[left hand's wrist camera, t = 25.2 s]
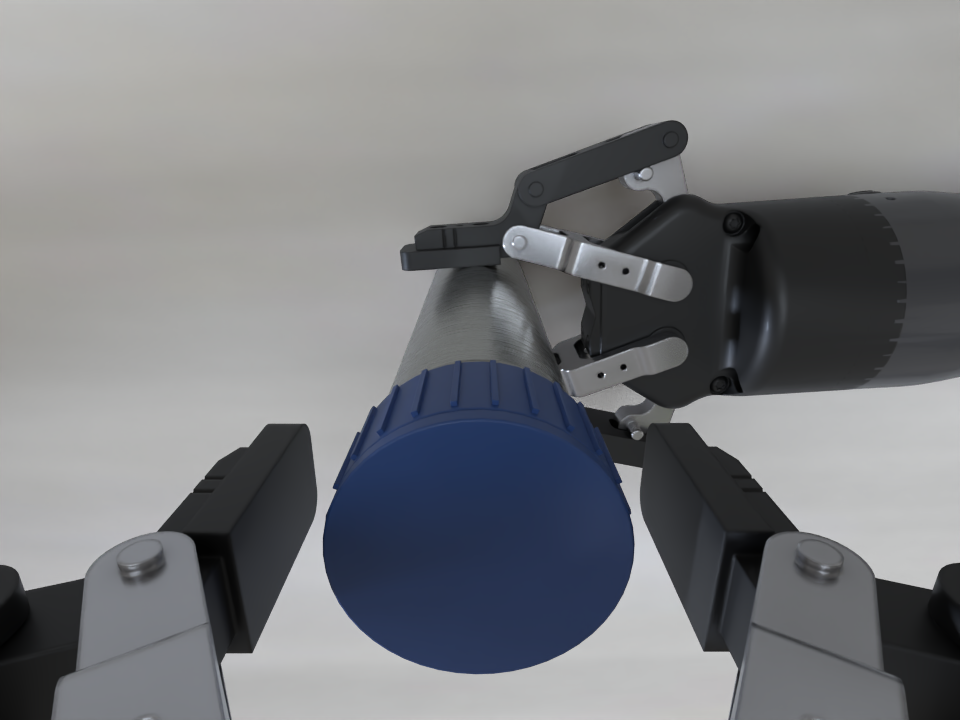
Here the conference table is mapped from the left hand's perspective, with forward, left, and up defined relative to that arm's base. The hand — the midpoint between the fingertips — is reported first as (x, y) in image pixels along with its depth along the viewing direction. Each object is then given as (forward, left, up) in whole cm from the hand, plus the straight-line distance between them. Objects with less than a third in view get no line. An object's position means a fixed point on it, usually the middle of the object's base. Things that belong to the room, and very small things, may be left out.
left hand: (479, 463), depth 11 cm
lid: (0, 0, +3) cm, 3 cm away
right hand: (-1, +2, -11) cm, 12 cm away
